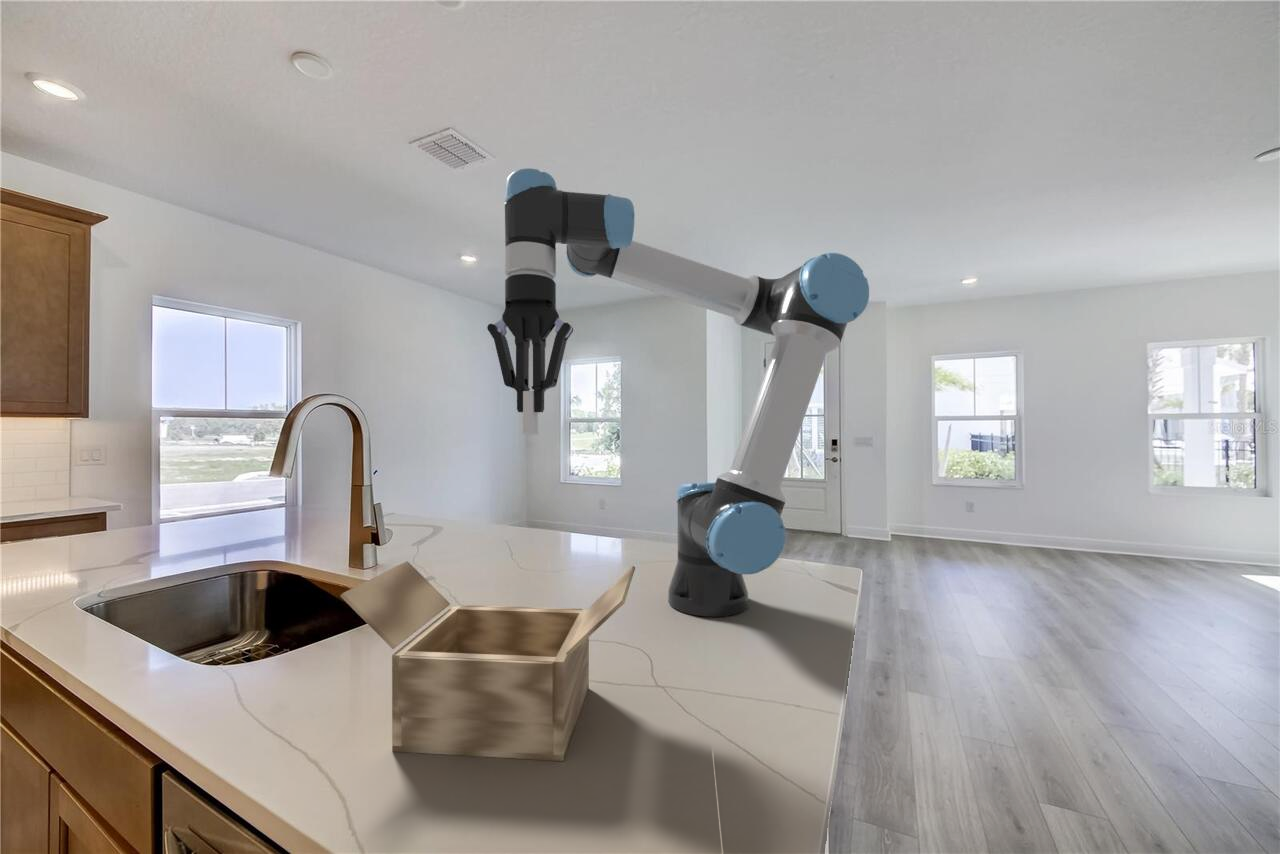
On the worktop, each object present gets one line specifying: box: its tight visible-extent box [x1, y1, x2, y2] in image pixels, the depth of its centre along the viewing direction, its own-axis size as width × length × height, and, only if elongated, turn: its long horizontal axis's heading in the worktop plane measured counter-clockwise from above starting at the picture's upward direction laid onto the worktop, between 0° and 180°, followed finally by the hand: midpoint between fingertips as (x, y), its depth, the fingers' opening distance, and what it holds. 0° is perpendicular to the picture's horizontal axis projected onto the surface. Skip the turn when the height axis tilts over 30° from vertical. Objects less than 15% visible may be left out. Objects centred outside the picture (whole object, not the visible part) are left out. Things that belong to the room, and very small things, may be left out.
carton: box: [391, 604, 590, 762], centre depth 58 cm, size 18×15×10 cm
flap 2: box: [566, 565, 636, 656], centre depth 57 cm, size 8×13×1 cm
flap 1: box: [340, 560, 451, 650], centre depth 59 cm, size 8×13×1 cm
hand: (530, 434), depth 76 cm, fingers closed
